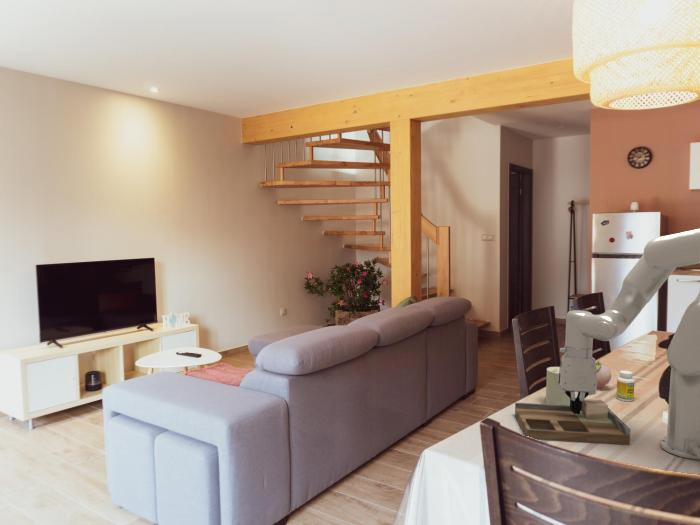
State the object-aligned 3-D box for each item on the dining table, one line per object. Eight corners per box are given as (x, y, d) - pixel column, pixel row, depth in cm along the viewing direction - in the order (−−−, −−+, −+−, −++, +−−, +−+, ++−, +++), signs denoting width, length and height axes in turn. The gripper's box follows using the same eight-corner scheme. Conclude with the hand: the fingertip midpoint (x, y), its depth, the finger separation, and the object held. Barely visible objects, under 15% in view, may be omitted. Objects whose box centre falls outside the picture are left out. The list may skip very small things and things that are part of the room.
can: (539, 401, 182) (540, 366, 182) (560, 398, 186) (562, 364, 185) (558, 410, 174) (560, 373, 173) (580, 407, 177) (582, 371, 176)
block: (607, 420, 158) (608, 405, 158) (586, 419, 158) (586, 404, 158) (600, 413, 164) (600, 399, 163) (579, 412, 164) (580, 398, 164)
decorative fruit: (612, 393, 193) (614, 365, 192) (588, 390, 195) (589, 363, 194) (607, 385, 202) (609, 359, 201) (584, 383, 204) (585, 357, 203)
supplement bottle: (621, 395, 190) (623, 369, 189) (636, 400, 185) (638, 372, 184) (613, 398, 187) (614, 371, 186) (628, 402, 182) (629, 375, 182)
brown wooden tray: (629, 444, 146) (630, 428, 146) (527, 438, 150) (527, 423, 149) (605, 420, 165) (605, 405, 165) (514, 415, 169) (515, 401, 168)
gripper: (555, 354, 157) (552, 415, 158) (609, 356, 155) (606, 418, 156) (549, 348, 164) (546, 407, 166) (600, 350, 162) (597, 409, 164)
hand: (575, 412), depth 161 cm, fingers closed
